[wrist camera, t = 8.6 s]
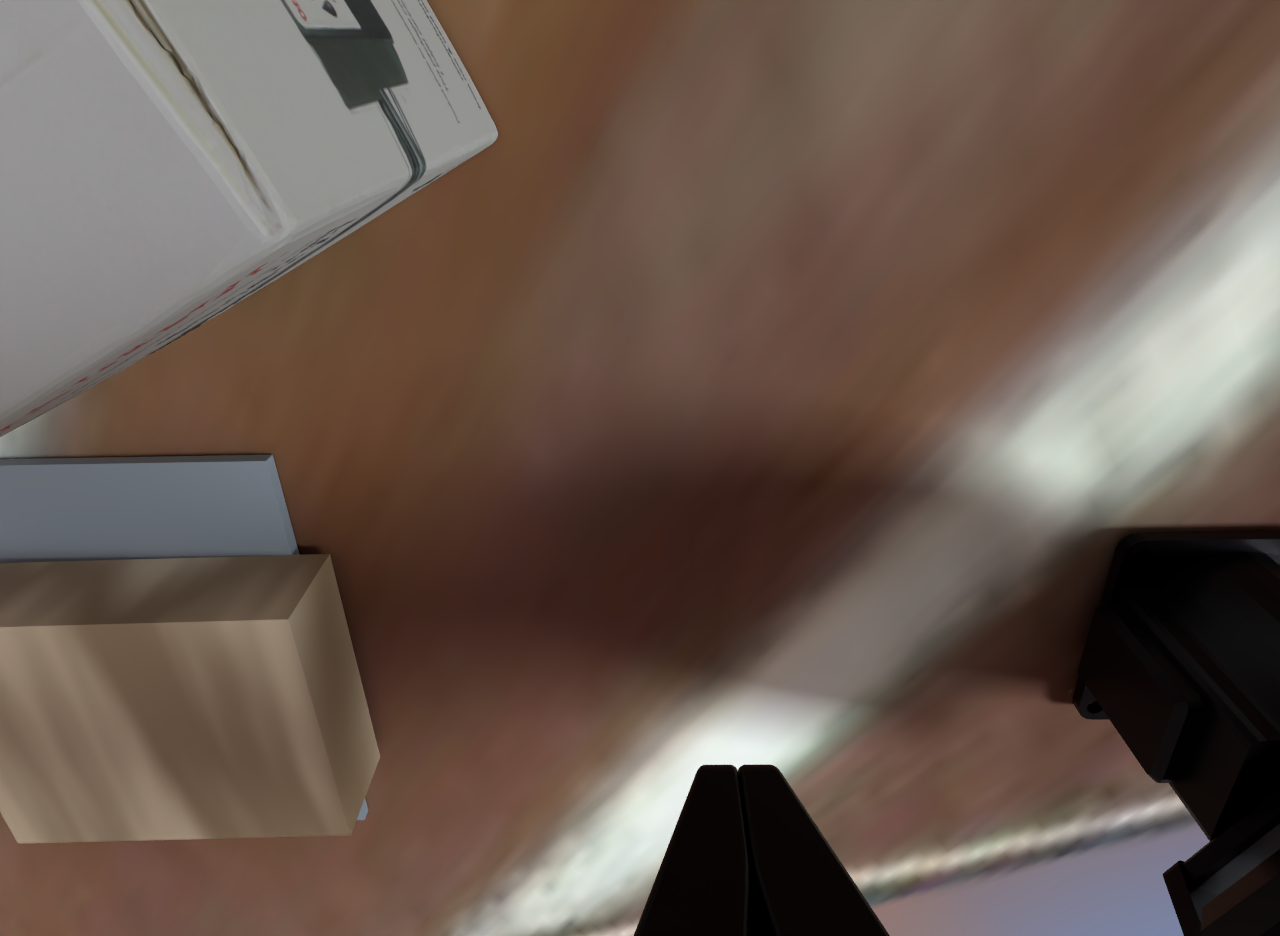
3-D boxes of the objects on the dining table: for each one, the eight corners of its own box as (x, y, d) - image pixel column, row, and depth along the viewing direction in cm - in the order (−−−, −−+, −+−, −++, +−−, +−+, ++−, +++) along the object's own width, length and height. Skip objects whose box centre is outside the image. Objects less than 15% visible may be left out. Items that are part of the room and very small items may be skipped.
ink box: (225, 317, 20) (-275, 602, 9) (77, 129, 18) (-768, 218, 7) (516, 139, 18) (301, 244, 7) (384, -94, 16) (-174, -421, 5)
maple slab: (288, 619, 20) (-105, 629, 20) (350, 835, 23) (18, 843, 24) (331, 551, 23) (-13, 560, 23) (381, 753, 26) (84, 761, 26)
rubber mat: (272, 454, 22) (265, 460, 21) (368, 810, 28) (364, 819, 27) (-151, 461, 22) (-164, 468, 22) (38, 810, 28) (30, 819, 28)
